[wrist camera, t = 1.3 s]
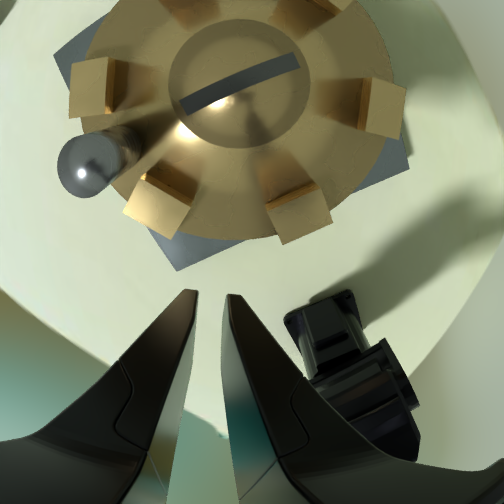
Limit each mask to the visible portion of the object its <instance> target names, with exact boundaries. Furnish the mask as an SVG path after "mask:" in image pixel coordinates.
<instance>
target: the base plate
mask: <svg viewBox="0 0 504 504" xmlns="http://www.w3.org/2000/svg"><path fill="white" fill-rule="evenodd" d="M107 14H108V13H107ZM107 14H106V15H104V16H103V17H101V18H100V19H98V20H97V21H95V22H94V23H93V24H91V25H90V26H88V27H87V28H86V29H84V30H83V31H82V32H80V33H79V34H78V35H77V36H75V37H74V38H73V39H72V40H70V41H69V42H68V43H67V44H65V45H64V46H63V47H62V48H61V49H60V50H58V51H57V52H56V53H55V54H54V55H53V56H54V58H55V61H56V63H57V65H58V67H59V70H60V72H61V74H62V76H63V78H64V80H65V83H66V85H67V87H68V89H69V91H70V79H71V67H72V64H73V63H77V62H82V61H85V57H86V54H87V51H88V49H89V46H90V44H91V42H92V40H93V37H94V35H95V33H96V32H97V30H98V28H99V27H100V25H101V23H102V22H103V20H104V19H105V17H106V16H107ZM406 170H409V164H408V160H407V155H406V151H405V147H404V143H403V139H402V136H401V132H400V136H399V140H397V139H393V138H389V137H387V138H386V141H385V144H384V146H383V149H382V151H381V153H380V155H379V156H378V158H377V160H376V162H375V164H374V166H373V167H372V169H371V170H370V171H369V173H368V174H367V176H366V177H365V179H364V180H363V181H362V182H361V183H360V184H359V186H358V187H357V188H356V189H355V190H354V191H353V192H352V193H355V192H357V191H359V190H361V189H364V188H366V187H368V186H371V185H373V184H375V183H378V182H380V181H383V180H385V179H387V178H390V177H392V176H394V175H397V174H399V173H401V172H404V171H406ZM352 193H351V194H352ZM146 227H147V226H146ZM147 228H148V230H149V231H150V233H151V234H152V236H153V238H154V239H155V241H156V242H157V244H158V245H159V247H160V248H161V250H162V251H163V252H164V254H165V255H166V257H167V258H168V260H169V261H170V263H171V264H172V266H173V267H174V268H175V270H176V271H179V270H181V269H184V268H186V267H188V266H190V265H192V264H195V263H197V262H199V261H201V260H203V259H206V258H208V257H210V256H212V255H214V254H217V253H219V252H221V251H223V250H225V249H228V248H230V247H232V246H234V245H236V244H239V243H241V242H243V241H245V240H221V239H211V238H204V237H200V236H195V235H191V234H187V233H184V232H181V231H178V230H177V231H176V232H175V234H174V236H173V237H172V239H171V240H170V239H168V238H166V237H164V236H163V235H161V234H159V233H157V232H156V231H154V230H152V229H150V228H149V227H147Z"/></svg>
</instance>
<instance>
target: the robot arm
mask: <svg viewBox="0 0 504 504" xmlns="http://www.w3.org/2000/svg"><path fill="white" fill-rule="evenodd" d="M347 295H349V296H347ZM198 296H199V292H198V291H197V290H191V289H184V290H183V291H182V292H181V293H180V294H179V295H178V296H177V297H176V298H175V299H174V300H173V301H172V302H171V303H170V304H169V305H168V306H167V308H166V309H165V310H164V311H163V312H162V313H161V314H160V315H159V316H158V317H157V318H156V319H155V320H154V321H153V322H152V323H151V324H150V325H149V327H148V328H147V329H146V330H145V331H144V332H143V333H142V334H141V335H140V336H139V337H138V338H137V339H136V340H135V341H134V343H133V344H132V345H131V346H130V347H129V348H128V349H127V350H126V351H125V352H124V353H123V354H122V355H121V357H120V358H119V361H118V360H117V361H116V362H115V363H114V364H113V365H112V366H111V367H110V368H109V370H107V371H106V373H105V374H104V375H103V376H102V377H101V378H100V379H99V380H98V381H97V382H96V383H95V384H93V385H92V386H91V387H90V388H89V389H88V390H87V391H86V392H85V393H83V394H82V395H81V396H80V397H79V398H78V399H76V400H75V401H74V402H73V403H72V404H71V405H69V406H68V407H67V408H66V409H65V410H63V411H62V412H61V413H60V414H59V415H57V416H56V417H55V418H54V419H53V420H52V421H50V422H49V423H48V424H47V425H46V426H44V427H43V428H41V429H40V430H38V431H37V432H35V433H33V434H31V435H28V436H25V437H22V438H18V439H12V440H7V441H1V442H0V504H166V501H167V494H168V488H169V482H170V476H171V471H172V465H173V460H174V454H175V449H176V444H177V438H178V433H179V428H180V423H181V418H182V413H183V408H184V403H185V398H186V393H187V388H188V384H189V379H190V374H191V369H192V363H193V352H194V340H195V329H196V319H197V307H198ZM346 296H347V297H346ZM288 320H291V321H288ZM283 321H284V325H285V326H286V328H287V330H288V332H289V334H290V335H291V337H292V339H293V341H294V343H295V344H296V346H297V348H298V350H299V352H300V353H301V355H302V357H303V361H304V364H305V368H306V372H307V375H308V379H309V380H308V379H307V378H306V377H303V373H302V372H301V371H300V370H299V369H298V367H297V366H296V365H295V364H294V362H293V361H292V360H291V359H290V357H289V356H288V355H287V354H286V352H285V351H284V350H283V348H282V347H281V346H280V345H279V343H278V342H277V341H276V340H275V338H274V337H273V336H272V334H271V333H270V332H269V331H268V329H267V328H266V327H265V325H264V324H263V323H262V322H261V320H260V319H259V318H258V316H257V315H256V314H255V313H254V311H253V310H252V309H251V307H250V306H249V305H248V303H247V302H246V301H245V299H244V298H243V297H242V296H241V295H236V294H227V295H226V299H225V306H224V312H223V319H222V339H221V376H222V385H223V394H224V402H225V410H226V418H227V426H228V433H229V441H230V448H231V454H232V460H233V468H234V474H235V480H236V486H237V493H238V498H239V500H240V501H239V504H504V458H501V459H499V460H498V461H496V462H495V463H493V464H492V465H491V466H489V467H487V468H486V469H484V470H481V471H459V470H453V469H445V468H440V467H434V466H429V465H423V464H419V463H415V462H416V461H417V458H418V452H419V444H420V437H421V436H420V432H419V430H418V428H417V425H416V423H415V421H414V419H413V416H412V414H411V412H410V411H412V410H414V409H415V408H417V407H419V406H420V404H419V402H418V399H417V397H416V395H415V392H414V390H413V388H412V386H411V384H410V382H409V380H408V378H407V376H406V374H405V372H404V370H403V368H402V366H401V365H400V363H399V361H398V359H397V358H396V356H395V354H394V352H393V351H392V349H391V347H390V345H389V344H388V342H387V340H386V339H385V338H383V339H382V340H380V341H379V343H377V344H375V345H374V346H372V347H371V346H370V344H369V342H368V340H367V338H366V336H365V334H364V332H363V329H362V325H361V321H360V317H359V313H358V309H357V305H356V302H355V298H354V295H353V293H352V291H351V290H345V291H343V292H341V293H338V294H336V295H334V296H332V297H329V298H327V299H325V300H322V301H320V302H318V303H316V304H313V305H311V306H308V307H306V308H304V309H301V310H299V311H297V312H294V313H292V314H289V315H287V316H285V317H284V319H283Z"/></svg>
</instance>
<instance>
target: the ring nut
mask: <svg viewBox="0 0 504 504" xmlns="http://www.w3.org/2000/svg"><path fill="white" fill-rule="evenodd" d="M405 95H406V88H403V87H401V86H398V85H395V84H394V82H393V73H392V68H391V63H390V59H389V55H388V52H387V50H386V47H385V44H384V41H383V39H382V37H381V35H380V33H379V31H378V29H377V27H376V26H375V24H374V22H373V21H372V19H371V18H370V16H369V15H368V14H367V12H366V11H365V9H364V8H363V7H362V6H361V5H360V4H359V2H358V1H357V0H119V1H118V2H117V4H116V5H115V6H114V7H113V8H112V10H111V11H110V12H109V13H108V14H107V16H106V17H105V19H104V20H103V22H102V23H101V25H100V27H99V28H98V30H97V32H96V33H95V35H94V37H93V40H92V42H91V44H90V46H89V49H88V51H87V54H86V57H85V61H82V62H77V63H73V64H72V67H71V79H70V95H69V119H70V118H77V117H81V122H82V128H83V132H84V134H83V135H80V136H77V137H74V138H72V139H71V140H69V141H68V142H67V143H66V144H65V145H64V146H63V148H62V150H61V152H60V154H59V157H58V163H57V170H58V175H59V179H60V181H61V183H62V185H63V186H64V188H65V189H66V190H67V191H68V192H69V193H71V194H72V195H74V196H76V197H80V198H90V197H93V196H95V195H97V194H98V193H100V192H101V191H102V190H103V189H105V188H106V187H107V186H108V185H110V184H111V185H112V186H113V187H114V189H115V190H116V191H117V192H118V193H119V194H120V195H121V196H122V197H123V198H124V199H125V200H127V201H128V202H127V205H126V207H125V209H124V211H123V213H124V214H126V215H128V216H129V217H131V218H133V219H135V220H136V221H138V222H140V223H142V224H143V225H145V226H147V227H149V228H150V229H152V230H154V231H156V232H157V233H159V234H161V235H163V236H164V237H166V238H168V239H170V240H171V239H172V237H173V236H174V234H175V232H176V231H177V230H178V231H181V232H184V233H187V234H191V235H195V236H200V237H204V238H211V239H221V240H249V239H257V238H265V237H269V236H273V235H277V234H278V236H279V238H280V240H281V242H282V245H284V244H286V243H289V242H291V241H293V240H295V239H298V238H300V237H302V236H305V235H307V234H309V233H311V232H314V231H316V230H318V229H320V228H323V227H325V226H327V225H329V224H332V223H333V221H332V218H331V215H330V212H329V211H330V210H332V209H333V208H335V207H336V206H337V205H339V204H340V203H341V202H342V201H343V200H344V199H346V198H347V197H348V196H349V195H350V194H351V193H352V192H353V191H354V190H355V189H356V188H357V187H358V186H359V184H360V183H361V182H362V181H363V180H364V179H365V177H366V176H367V174H368V173H369V171H370V170H371V169H372V167H373V166H374V164H375V162H376V160H377V158H378V156H379V155H380V153H381V151H382V149H383V146H384V144H385V141H386V138H387V137H389V138H393V139H397V140H399V136H400V130H401V124H402V118H403V111H404V103H405Z"/></svg>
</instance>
